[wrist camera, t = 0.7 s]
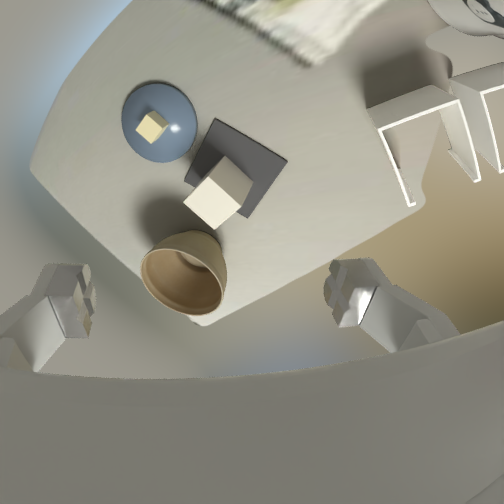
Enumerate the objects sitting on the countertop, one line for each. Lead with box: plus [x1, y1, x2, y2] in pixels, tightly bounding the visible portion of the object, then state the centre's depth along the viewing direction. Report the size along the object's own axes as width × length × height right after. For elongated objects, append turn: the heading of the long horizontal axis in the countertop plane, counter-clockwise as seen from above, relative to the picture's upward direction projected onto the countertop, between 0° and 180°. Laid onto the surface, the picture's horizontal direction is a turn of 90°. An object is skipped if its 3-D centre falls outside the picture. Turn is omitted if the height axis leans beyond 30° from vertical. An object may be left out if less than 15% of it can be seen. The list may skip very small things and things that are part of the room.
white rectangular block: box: [183, 156, 253, 230], centre depth 48 cm, size 6×6×8 cm
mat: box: [184, 119, 288, 218], centre depth 50 cm, size 13×13×1 cm
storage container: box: [367, 62, 504, 207], centre depth 31 cm, size 25×11×11 cm, turn 123°
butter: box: [136, 110, 169, 144], centre depth 45 cm, size 4×4×2 cm
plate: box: [122, 83, 198, 163], centre depth 47 cm, size 14×14×1 cm
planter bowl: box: [140, 230, 227, 316], centre depth 58 cm, size 16×16×11 cm
